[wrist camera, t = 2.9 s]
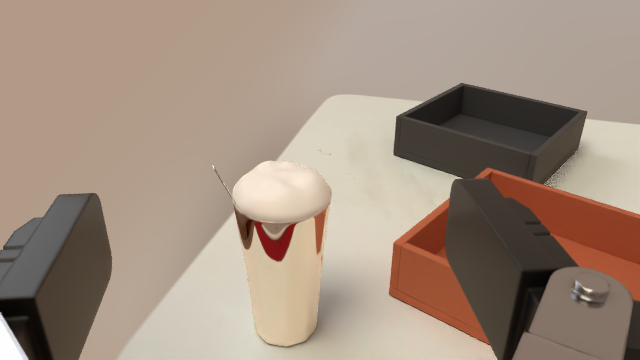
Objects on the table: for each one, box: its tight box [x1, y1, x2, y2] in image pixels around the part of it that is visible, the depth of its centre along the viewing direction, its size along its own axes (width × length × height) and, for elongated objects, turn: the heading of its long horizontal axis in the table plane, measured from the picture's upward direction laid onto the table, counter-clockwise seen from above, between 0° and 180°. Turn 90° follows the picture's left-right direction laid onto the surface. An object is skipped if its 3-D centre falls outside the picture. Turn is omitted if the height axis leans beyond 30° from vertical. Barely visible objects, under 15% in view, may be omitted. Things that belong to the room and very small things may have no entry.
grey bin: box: [394, 83, 587, 184], centre depth 48 cm, size 12×12×4 cm
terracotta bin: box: [389, 168, 640, 345], centre depth 31 cm, size 12×12×4 cm
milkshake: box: [212, 161, 331, 347], centre depth 27 cm, size 4×5×10 cm
